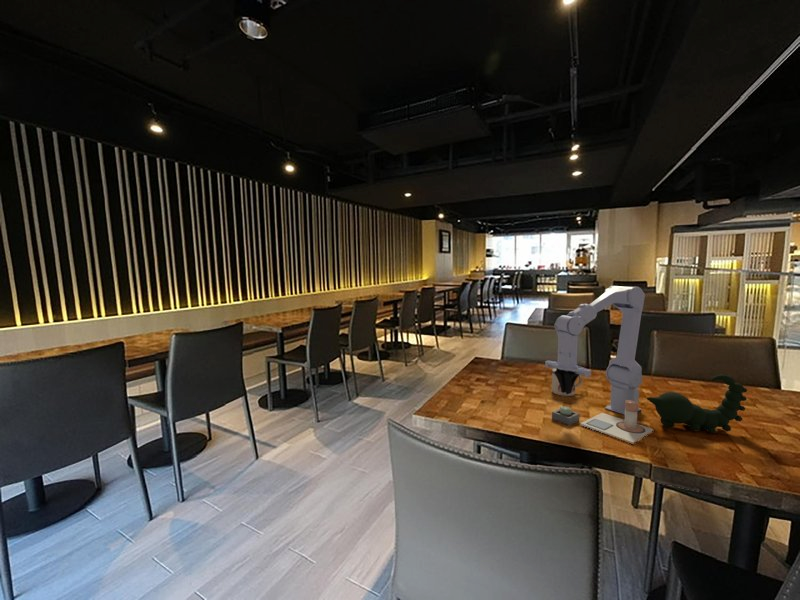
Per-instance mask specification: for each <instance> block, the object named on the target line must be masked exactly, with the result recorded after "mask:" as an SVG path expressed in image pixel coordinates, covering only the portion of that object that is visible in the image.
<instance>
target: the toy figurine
mask: <svg viewBox="0 0 800 600" xmlns="http://www.w3.org/2000/svg"><path fill="white" fill-rule="evenodd" d="M710 381H711V382H712V383H713V382H716V381H717V382H718V381H721V382H722V383H724V384H725V385H727V388H728V389H727V390H726V391H725V393H724V396H725V397H724V398H723V399H722V401H721V404H720V405H718V406H717V407H716V409H709V408H702V407H701V406H700V405H697V404H694V403H692V402H691V400H690V399H689V398H688V397H686V396H685V395H683V394H682V393H679V392H675V391H669V392H668V391H667V392H664V393H661V394H659V396H657V397H656V396H655V397H653V396H652V397H646V400H647V401H648V402H650V403H651V404H653V405H654V407H655V410H656V412H657V414H658V415H659V416H660V419H659V420H660V423H661V424H662V425H663V426H664V427H666V428H668V429H672V428H673V427H675V424H681V425H682V424H684V425H687V426H688V427H689V429H690V430H692V431H693V432H699V431H701V428H702V429H704V430H706V431H707V432H708V433H709V432H710V433H709V434H711V433H714V434H716V432H717V430H716V429H717V428H721V429H722V430H723V431H725V432H731V430H732V427H731V426H730V425H729V423H730V421H734V420H735V421H737V422H742V421H743V417H742V415H738V411H741V412H743V411H745V410H746V407H745V406H743V405H741V402H744V401H745V402H746V401H747V397H746V396H744V394H743V393H747V392H748V389H747V388H746V387H745V386H743V385H742V384H741V383H738V382H735V379H734V378H733V377H732V376H730V375H728V374H717V375H714V376H713V377H711V379H710Z"/></svg>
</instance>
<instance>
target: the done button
mask: <svg viewBox="0 0 800 600" xmlns="http://www.w3.org/2000/svg"><path fill="white" fill-rule="evenodd" d="M559 409H560V414H562V415H565V416H568V417H569V416H571V415H572V411H573V410H572V408H571V407H569V406H565V405H564V406H563V405H562V406H560V407H559Z"/></svg>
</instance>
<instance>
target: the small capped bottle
mask: <svg viewBox="0 0 800 600" xmlns="http://www.w3.org/2000/svg"><path fill="white" fill-rule="evenodd" d="M638 408H639V402H638V403H637V402H635V401H631V400H626V401H625V415H624V419H623V420H624V427H625V428H628V429H632V430H635V429H637V424H638V412H639V411H638Z"/></svg>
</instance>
